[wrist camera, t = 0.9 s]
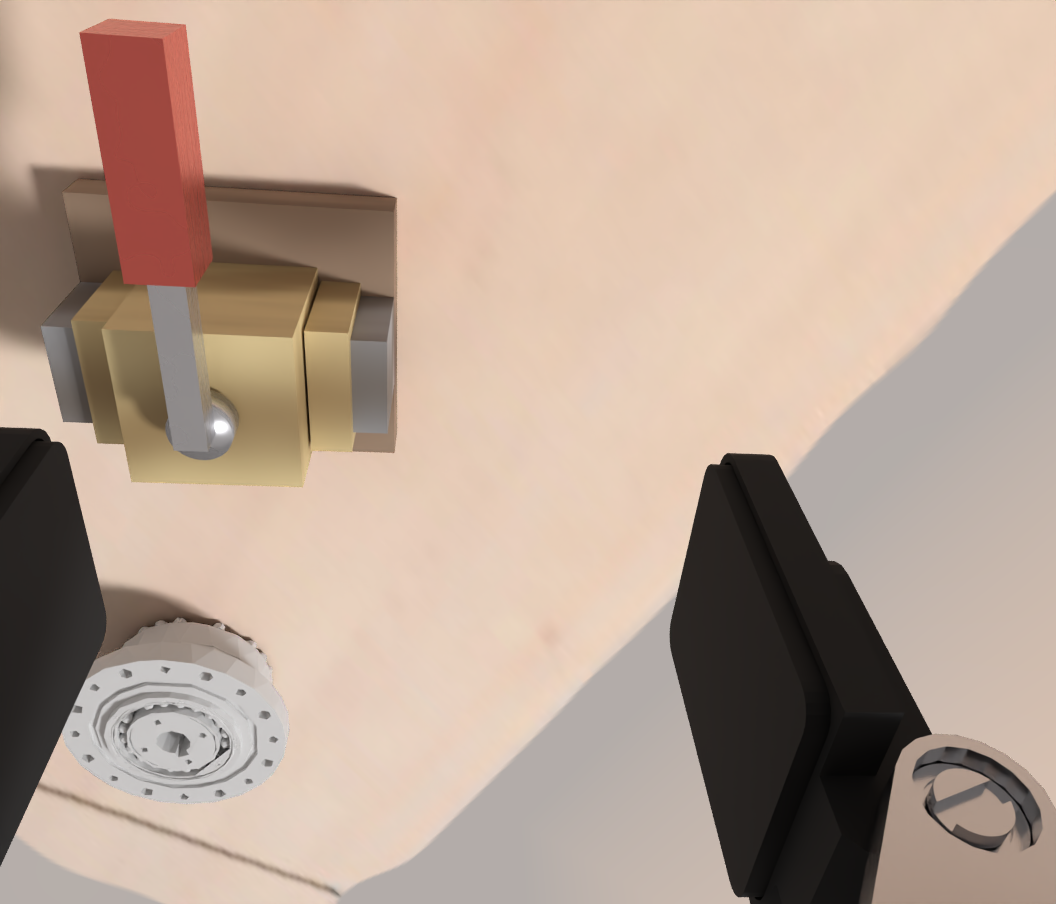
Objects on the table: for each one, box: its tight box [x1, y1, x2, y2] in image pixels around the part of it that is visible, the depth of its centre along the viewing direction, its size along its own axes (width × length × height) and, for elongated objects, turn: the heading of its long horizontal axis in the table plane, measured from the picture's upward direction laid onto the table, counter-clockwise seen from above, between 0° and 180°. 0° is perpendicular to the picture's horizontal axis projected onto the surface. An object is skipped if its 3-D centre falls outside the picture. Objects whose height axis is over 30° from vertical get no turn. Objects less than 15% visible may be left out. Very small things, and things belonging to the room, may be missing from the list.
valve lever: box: [79, 19, 239, 460], centre depth 25 cm, size 12×2×2 cm, turn 175°
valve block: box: [41, 179, 397, 487], centre depth 32 cm, size 10×11×7 cm
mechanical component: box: [62, 618, 289, 804], centre depth 43 cm, size 10×4×10 cm
